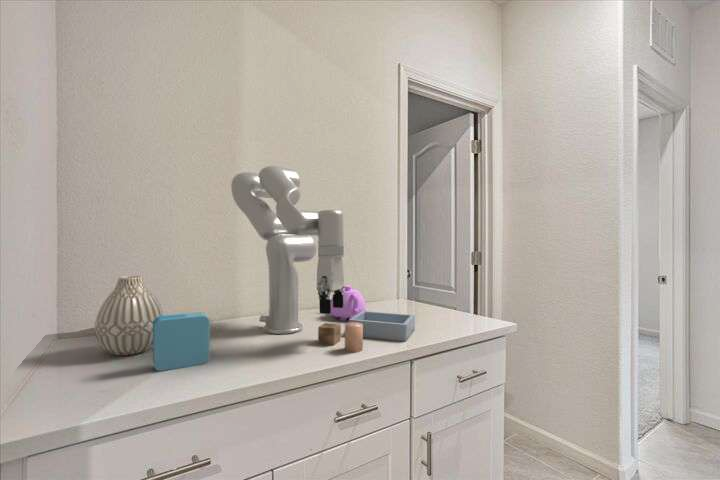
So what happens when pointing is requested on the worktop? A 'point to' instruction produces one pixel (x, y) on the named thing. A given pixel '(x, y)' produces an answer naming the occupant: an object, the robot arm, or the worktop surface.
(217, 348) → the worktop surface
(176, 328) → the data package
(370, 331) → the tote
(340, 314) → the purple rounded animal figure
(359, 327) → the terracotta canister
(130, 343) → the vase
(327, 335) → the wood cube
